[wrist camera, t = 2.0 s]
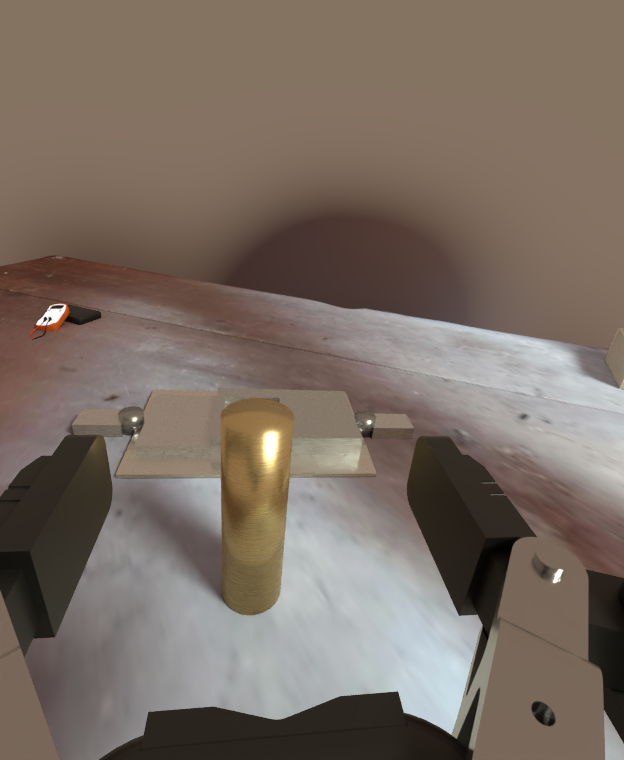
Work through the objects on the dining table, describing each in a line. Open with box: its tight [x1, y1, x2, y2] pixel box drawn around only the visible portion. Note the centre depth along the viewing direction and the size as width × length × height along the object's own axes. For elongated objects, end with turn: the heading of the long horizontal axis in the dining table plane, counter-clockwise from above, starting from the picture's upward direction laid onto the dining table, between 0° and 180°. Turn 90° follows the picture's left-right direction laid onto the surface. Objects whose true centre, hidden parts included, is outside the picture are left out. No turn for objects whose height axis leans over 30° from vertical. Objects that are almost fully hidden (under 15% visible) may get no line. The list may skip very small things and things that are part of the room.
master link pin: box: [221, 398, 294, 615], centre depth 27 cm, size 4×4×14 cm
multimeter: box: [31, 304, 101, 340], centre depth 67 cm, size 18×12×3 cm, turn 155°
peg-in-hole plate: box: [72, 388, 414, 478], centre depth 47 cm, size 36×16×2 cm, turn 96°
